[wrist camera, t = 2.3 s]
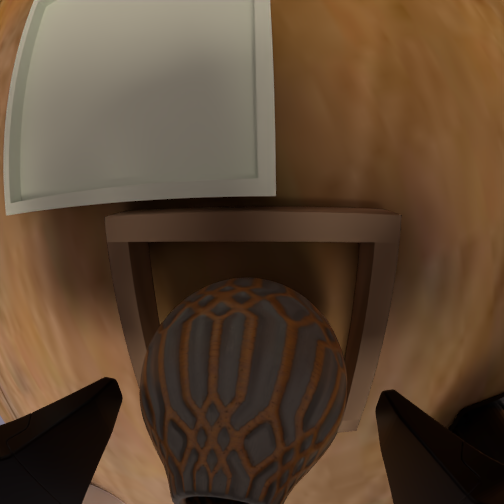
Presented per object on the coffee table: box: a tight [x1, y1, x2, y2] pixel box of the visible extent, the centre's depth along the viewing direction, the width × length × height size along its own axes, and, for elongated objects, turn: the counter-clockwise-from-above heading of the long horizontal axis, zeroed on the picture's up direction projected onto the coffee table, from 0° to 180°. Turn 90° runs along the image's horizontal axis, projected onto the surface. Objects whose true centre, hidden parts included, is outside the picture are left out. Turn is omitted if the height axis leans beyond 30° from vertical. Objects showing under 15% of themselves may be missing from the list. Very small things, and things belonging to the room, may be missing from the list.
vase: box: [140, 278, 347, 504], centre depth 8 cm, size 7×7×9 cm
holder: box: [104, 206, 402, 433], centre depth 12 cm, size 11×11×2 cm
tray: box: [4, 0, 276, 215], centre depth 9 cm, size 14×14×2 cm
